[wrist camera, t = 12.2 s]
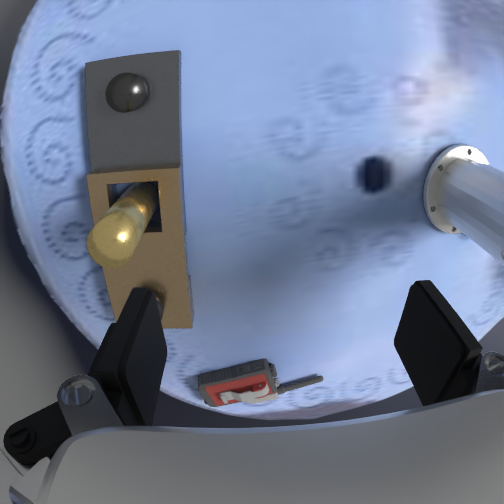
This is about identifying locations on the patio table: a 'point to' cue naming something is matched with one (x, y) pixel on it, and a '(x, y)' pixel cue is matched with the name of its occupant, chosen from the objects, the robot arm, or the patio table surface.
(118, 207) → the pin
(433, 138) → the patio table surface
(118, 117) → the peg insertion board
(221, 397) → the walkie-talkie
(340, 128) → the patio table surface
